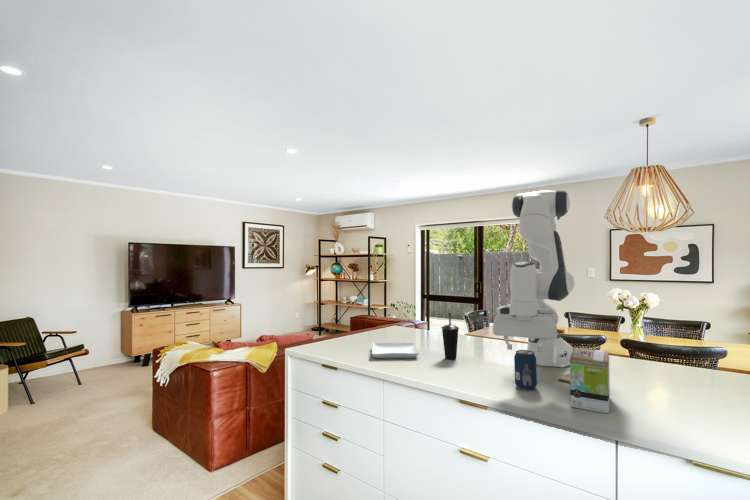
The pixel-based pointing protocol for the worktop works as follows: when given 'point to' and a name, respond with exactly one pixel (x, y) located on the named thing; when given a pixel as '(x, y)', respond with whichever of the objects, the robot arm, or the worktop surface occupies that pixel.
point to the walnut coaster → (565, 378)
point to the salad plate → (394, 350)
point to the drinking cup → (450, 340)
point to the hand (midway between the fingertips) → (524, 350)
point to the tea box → (589, 380)
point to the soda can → (525, 370)
